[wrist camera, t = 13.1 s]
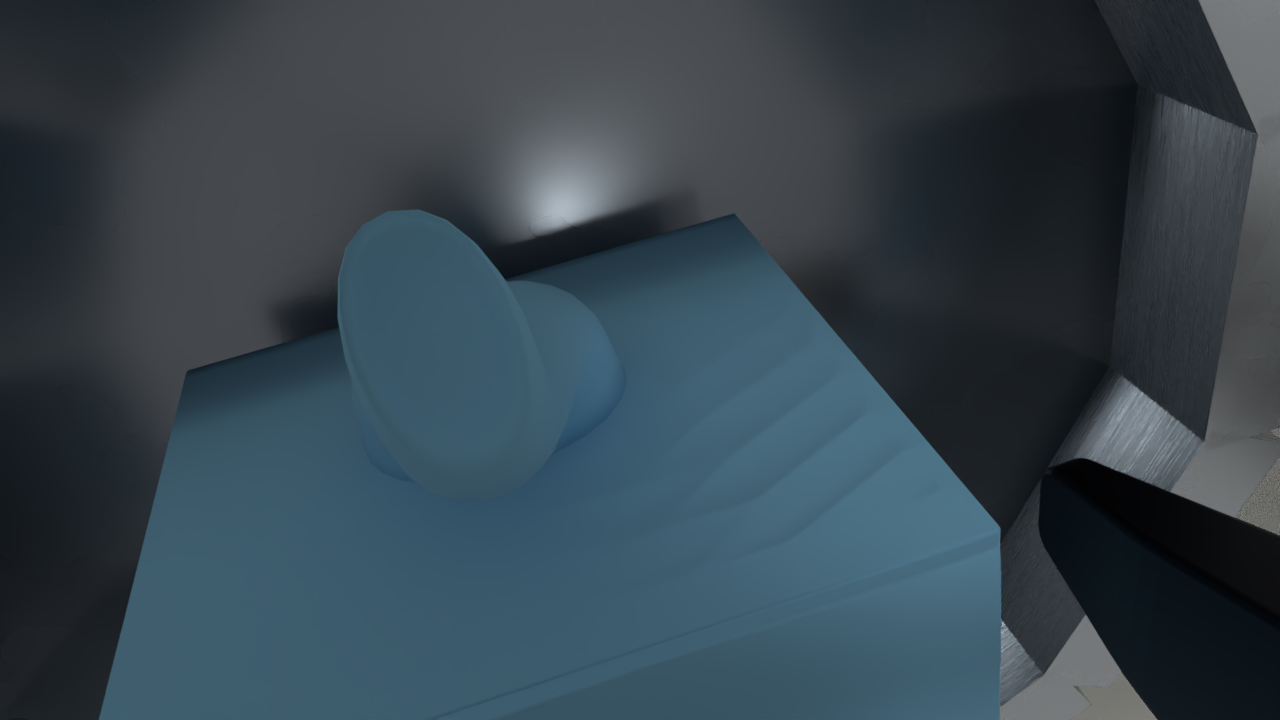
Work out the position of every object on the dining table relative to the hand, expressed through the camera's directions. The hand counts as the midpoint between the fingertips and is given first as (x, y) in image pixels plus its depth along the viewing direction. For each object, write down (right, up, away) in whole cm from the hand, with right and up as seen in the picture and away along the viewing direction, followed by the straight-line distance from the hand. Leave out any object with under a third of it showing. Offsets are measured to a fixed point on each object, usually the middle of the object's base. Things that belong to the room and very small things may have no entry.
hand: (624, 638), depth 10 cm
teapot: (-2, +2, +3) cm, 4 cm away
